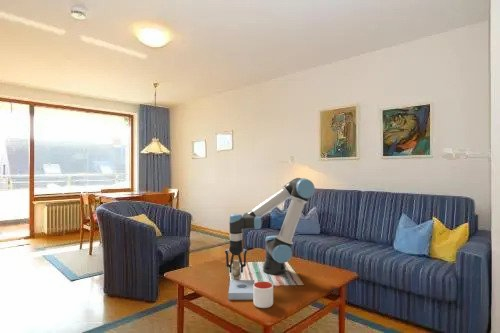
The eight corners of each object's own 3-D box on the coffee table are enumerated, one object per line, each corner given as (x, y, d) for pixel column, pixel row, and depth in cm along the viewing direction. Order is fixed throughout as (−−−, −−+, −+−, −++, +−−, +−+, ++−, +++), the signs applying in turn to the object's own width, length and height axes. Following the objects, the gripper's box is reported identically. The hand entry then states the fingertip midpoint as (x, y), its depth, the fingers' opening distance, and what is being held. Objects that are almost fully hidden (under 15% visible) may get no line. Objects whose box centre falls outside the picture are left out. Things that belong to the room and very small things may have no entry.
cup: (252, 300, 161) (252, 281, 161) (271, 299, 162) (271, 280, 162) (254, 309, 151) (254, 289, 151) (274, 308, 152) (274, 288, 152)
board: (254, 286, 181) (254, 280, 181) (255, 299, 163) (255, 292, 163) (230, 286, 181) (230, 280, 181) (228, 299, 163) (228, 293, 163)
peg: (240, 279, 191) (239, 259, 191) (239, 281, 186) (239, 262, 186) (232, 279, 191) (232, 259, 191) (232, 282, 186) (232, 262, 186)
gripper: (250, 238, 192) (250, 275, 192) (222, 238, 192) (222, 275, 192) (250, 241, 185) (250, 280, 185) (221, 241, 185) (221, 280, 185)
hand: (236, 277), depth 189 cm, fingers closed on peg, 4 cm apart
